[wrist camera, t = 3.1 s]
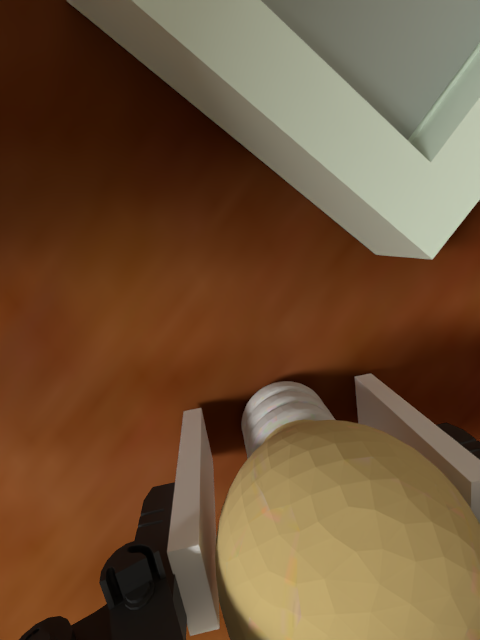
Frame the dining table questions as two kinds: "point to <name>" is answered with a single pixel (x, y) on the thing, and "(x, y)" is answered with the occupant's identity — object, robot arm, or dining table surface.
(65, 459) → the dining table surface
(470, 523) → the light bulb
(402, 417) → the robot arm
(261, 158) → the tray
